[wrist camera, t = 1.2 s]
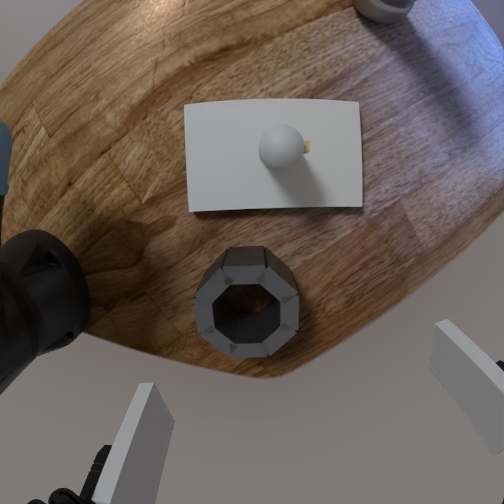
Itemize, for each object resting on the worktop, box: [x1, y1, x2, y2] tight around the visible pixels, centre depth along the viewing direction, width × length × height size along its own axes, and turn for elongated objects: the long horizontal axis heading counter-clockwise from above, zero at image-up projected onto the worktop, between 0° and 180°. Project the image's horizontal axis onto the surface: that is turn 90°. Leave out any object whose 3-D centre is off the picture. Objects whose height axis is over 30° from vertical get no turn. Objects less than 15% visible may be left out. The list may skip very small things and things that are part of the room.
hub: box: [193, 246, 299, 358], centre depth 26 cm, size 8×8×6 cm
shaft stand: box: [184, 99, 362, 212], centre depth 22 cm, size 16×10×8 cm, turn 92°
